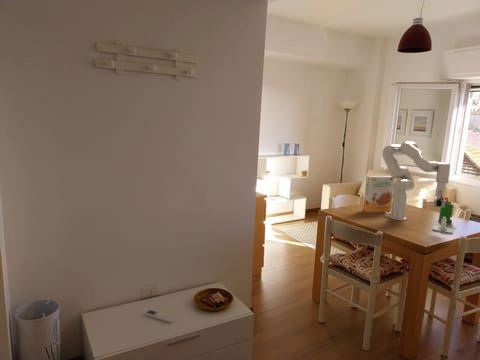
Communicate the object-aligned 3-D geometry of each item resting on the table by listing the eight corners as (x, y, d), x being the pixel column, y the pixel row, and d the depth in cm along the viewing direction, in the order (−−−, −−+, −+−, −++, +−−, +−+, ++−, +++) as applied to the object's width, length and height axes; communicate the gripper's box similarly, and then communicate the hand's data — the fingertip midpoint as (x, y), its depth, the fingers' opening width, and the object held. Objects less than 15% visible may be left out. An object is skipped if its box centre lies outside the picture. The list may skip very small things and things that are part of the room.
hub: (433, 206, 243) (434, 199, 242) (434, 204, 248) (435, 198, 247) (444, 207, 239) (444, 200, 238) (445, 206, 244) (445, 199, 244)
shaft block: (432, 230, 244) (434, 217, 242) (433, 226, 254) (435, 214, 252) (451, 234, 238) (453, 220, 236) (452, 230, 247) (454, 217, 246)
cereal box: (367, 212, 289) (370, 177, 284) (362, 210, 295) (366, 176, 290) (390, 211, 295) (394, 177, 290) (385, 209, 301) (389, 175, 295)
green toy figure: (453, 224, 261) (457, 199, 258) (441, 223, 263) (444, 198, 260) (448, 220, 271) (452, 196, 268) (436, 219, 273) (439, 195, 269)
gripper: (437, 178, 250) (434, 202, 253) (434, 181, 236) (431, 206, 239) (449, 179, 246) (446, 204, 248) (447, 182, 232) (444, 208, 234)
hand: (439, 205), depth 244 cm, fingers closed on hub, 6 cm apart
